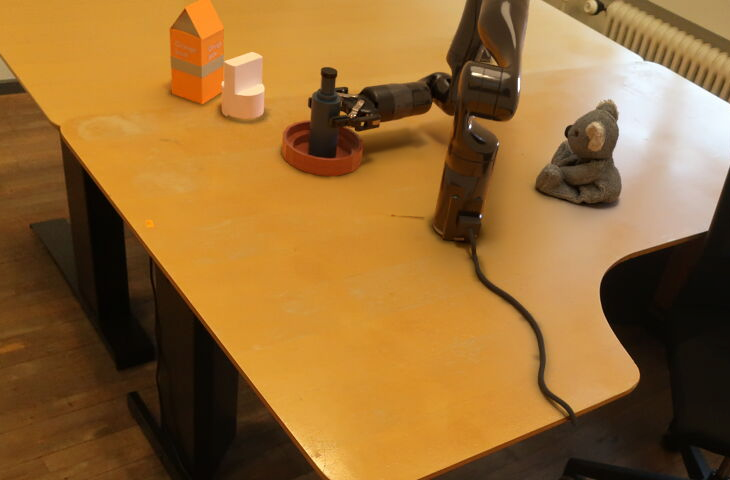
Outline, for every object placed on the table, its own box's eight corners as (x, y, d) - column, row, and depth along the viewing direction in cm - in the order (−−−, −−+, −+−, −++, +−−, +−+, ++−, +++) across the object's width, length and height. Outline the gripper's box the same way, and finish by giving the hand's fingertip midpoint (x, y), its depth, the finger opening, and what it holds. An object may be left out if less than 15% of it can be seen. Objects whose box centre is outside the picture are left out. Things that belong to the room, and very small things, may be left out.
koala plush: (553, 160, 194) (576, 80, 181) (625, 187, 191) (654, 107, 178) (530, 191, 181) (553, 108, 168) (607, 220, 178) (637, 137, 165)
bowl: (362, 183, 171) (364, 163, 168) (280, 175, 167) (281, 155, 164) (358, 143, 183) (361, 124, 180) (282, 135, 179) (283, 116, 176)
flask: (336, 163, 173) (344, 78, 161) (307, 160, 172) (314, 75, 160) (335, 149, 177) (343, 66, 165) (307, 147, 176) (314, 62, 164)
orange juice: (171, 93, 184) (167, 1, 170) (194, 80, 190) (192, -10, 177) (202, 104, 182) (201, 13, 169) (224, 90, 189) (224, 1, 176)
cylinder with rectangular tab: (241, 98, 188) (242, 46, 180) (272, 113, 185) (274, 61, 177) (212, 109, 182) (212, 56, 174) (244, 125, 179) (245, 72, 171)
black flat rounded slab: (484, 36, 240) (491, 58, 230) (483, 40, 241) (491, 62, 230) (457, 32, 239) (464, 54, 228) (456, 36, 239) (463, 58, 229)
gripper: (370, 71, 177) (302, 79, 169) (408, 101, 170) (339, 112, 161) (366, 104, 182) (300, 114, 173) (402, 135, 175) (336, 146, 166)
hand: (319, 113), depth 167 cm, fingers open, 8 cm apart
